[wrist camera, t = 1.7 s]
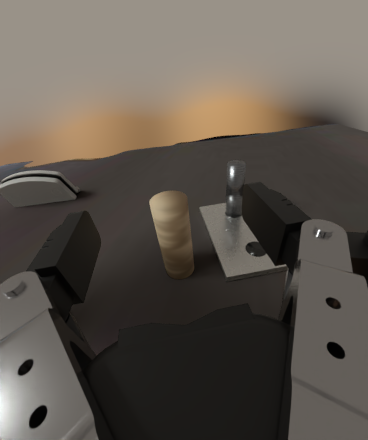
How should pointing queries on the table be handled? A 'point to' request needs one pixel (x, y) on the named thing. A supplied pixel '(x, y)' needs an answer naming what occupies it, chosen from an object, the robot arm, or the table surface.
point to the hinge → (37, 188)
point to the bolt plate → (235, 232)
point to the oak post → (173, 232)
